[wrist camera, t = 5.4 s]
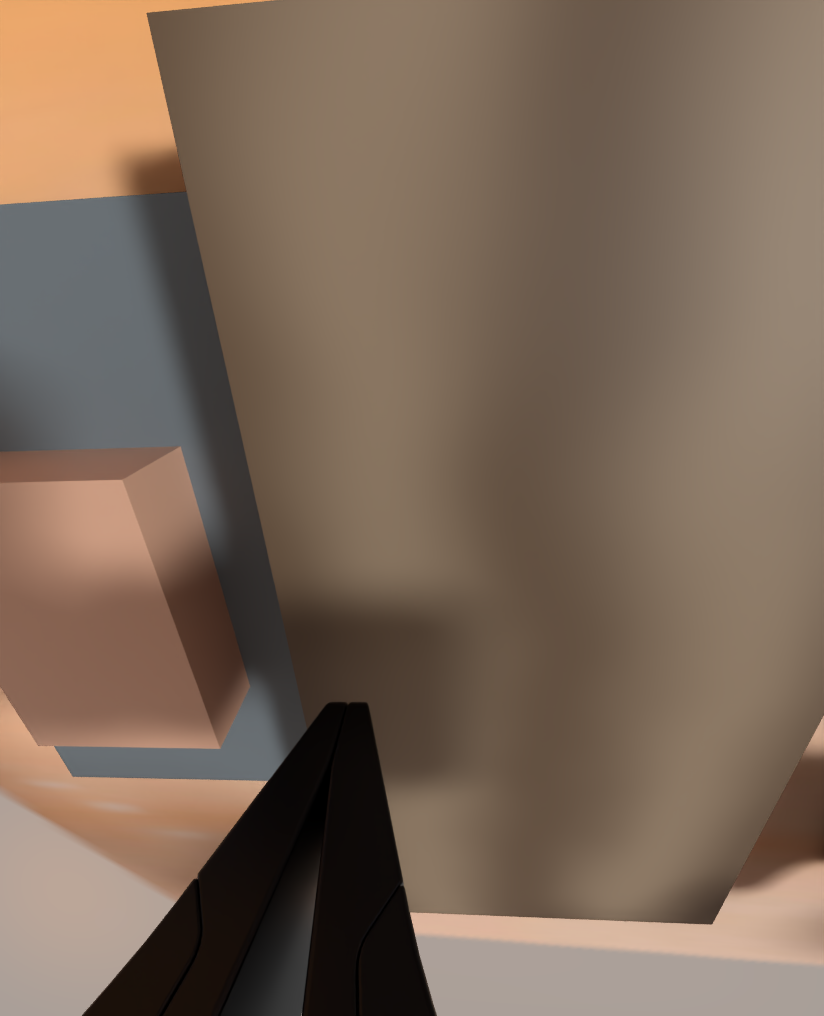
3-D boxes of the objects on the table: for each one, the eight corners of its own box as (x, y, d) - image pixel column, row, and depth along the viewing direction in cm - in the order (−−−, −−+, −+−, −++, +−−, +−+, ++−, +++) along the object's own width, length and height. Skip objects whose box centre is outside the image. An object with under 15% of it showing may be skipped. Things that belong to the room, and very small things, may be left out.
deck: (889, 81, 8) (1256, -96, 4) (655, 796, 18) (711, 924, 14) (264, 130, 9) (147, 12, 5) (364, 790, 18) (347, 909, 15)
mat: (250, 190, 9) (245, 187, 9) (350, 775, 18) (349, 782, 18) (-249, 225, 10) (-268, 223, 10) (78, 769, 19) (72, 776, 18)
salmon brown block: (-128, 486, 10) (-27, 452, 12) (38, 745, 14) (92, 685, 16) (122, 479, 9) (180, 446, 12) (220, 748, 13) (250, 686, 16)
